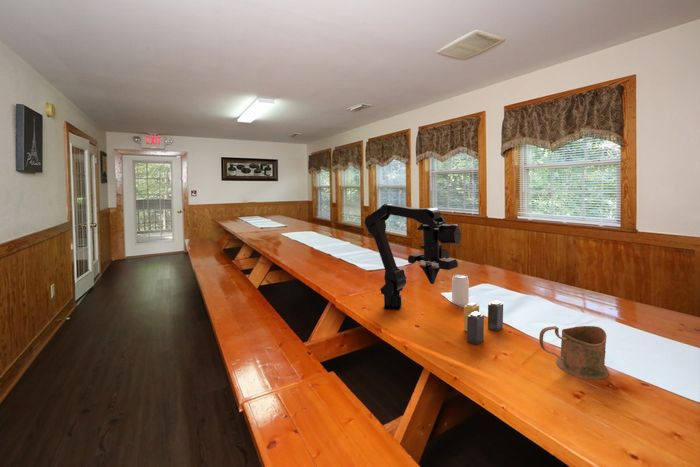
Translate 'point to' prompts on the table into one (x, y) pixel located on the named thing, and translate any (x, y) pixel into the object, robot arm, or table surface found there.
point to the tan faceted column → (469, 312)
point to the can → (460, 289)
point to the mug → (581, 351)
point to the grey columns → (477, 322)
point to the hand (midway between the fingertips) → (432, 283)
